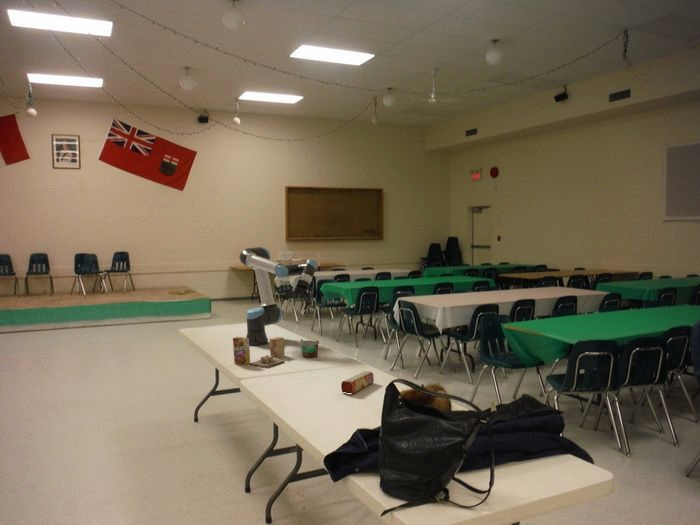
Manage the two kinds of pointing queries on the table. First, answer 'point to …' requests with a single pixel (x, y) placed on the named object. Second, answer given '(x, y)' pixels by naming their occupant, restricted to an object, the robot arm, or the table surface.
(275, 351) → the oak block
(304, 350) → the food container
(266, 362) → the peg stand
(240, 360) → the candy box
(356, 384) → the snack package
